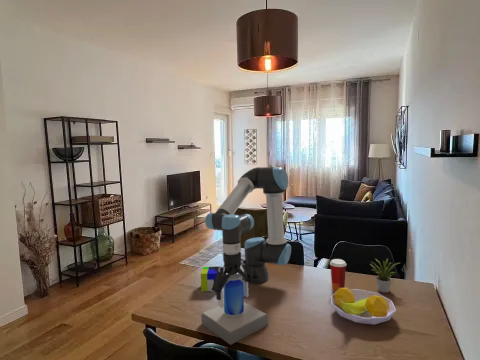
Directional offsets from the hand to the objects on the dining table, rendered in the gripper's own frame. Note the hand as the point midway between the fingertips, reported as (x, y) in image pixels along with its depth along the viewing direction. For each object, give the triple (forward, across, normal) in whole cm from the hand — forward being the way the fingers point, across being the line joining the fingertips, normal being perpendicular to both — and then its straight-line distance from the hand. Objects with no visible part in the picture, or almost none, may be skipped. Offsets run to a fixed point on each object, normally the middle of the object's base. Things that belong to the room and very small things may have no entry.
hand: (233, 301), depth 131 cm
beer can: (+6, 0, 0) cm, 6 cm away
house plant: (+11, +78, -28) cm, 83 cm away
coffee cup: (+11, +61, -11) cm, 63 cm away
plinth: (+10, 0, 0) cm, 10 cm away
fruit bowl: (+11, +45, -32) cm, 56 cm away
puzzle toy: (+11, +14, +37) cm, 41 cm away
